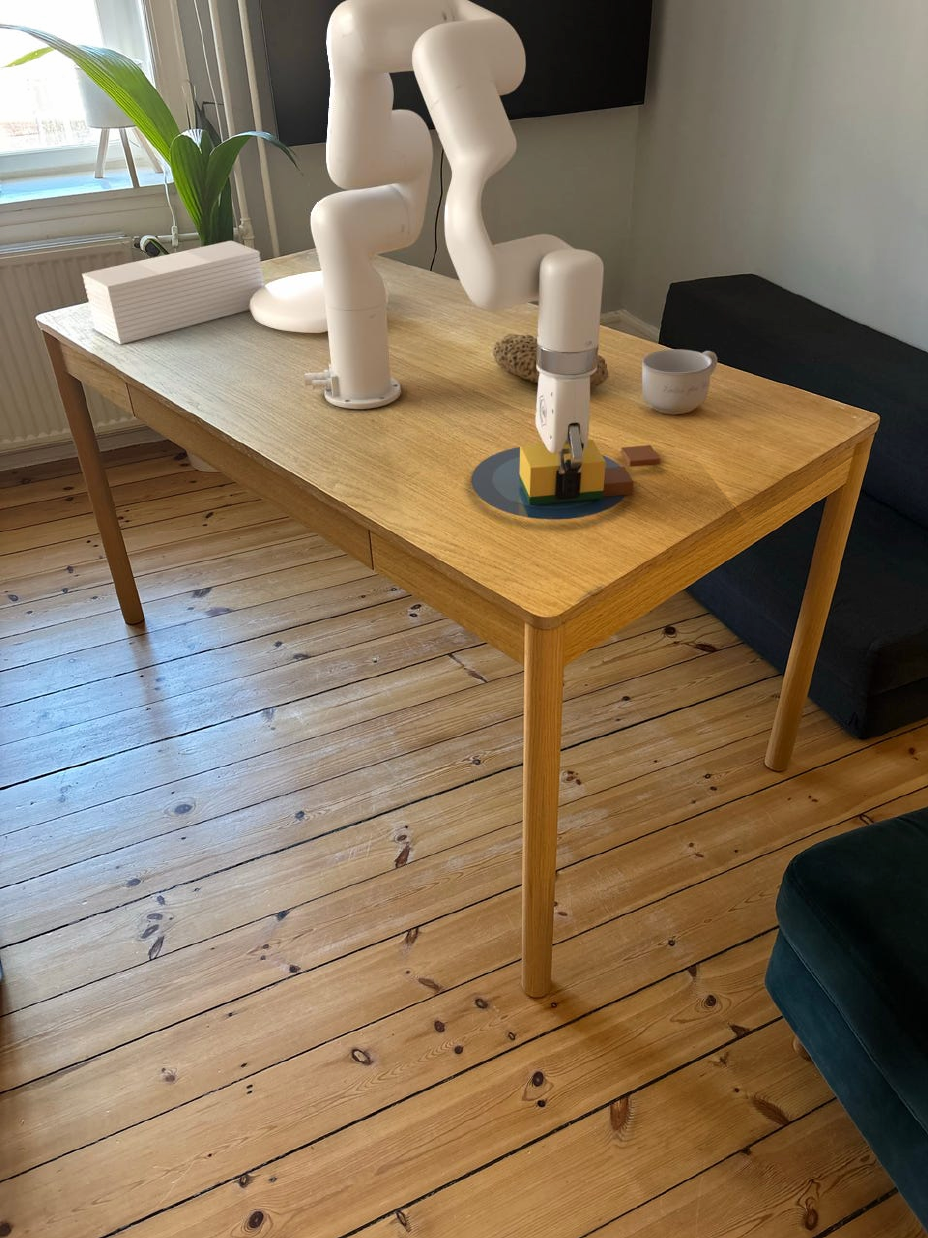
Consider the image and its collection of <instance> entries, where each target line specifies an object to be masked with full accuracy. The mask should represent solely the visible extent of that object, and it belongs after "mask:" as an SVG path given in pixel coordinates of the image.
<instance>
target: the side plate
mask: <svg viewBox="0 0 928 1238" xmlns="http://www.w3.org/2000/svg"><path fill="white" fill-rule="evenodd" d="M601 455H602V456H603V458H604V460H605V461H606V464H605V468H613V467H622V466H621V465H620V464H618V462H616V461H615V460H613V459H612V458H609V457H608V456H605V454H604V455H603V454H601ZM519 477H520V446H517V447H513V448H509V449H505V450H502V451H500V452H496V453H495V454H492V455H490V456H488V457H487V458H485V459H483V460H482V461H481V462H480V463H478V465H477V466H475V468H474V470H473V472H472V475H471V480H470V482H471V487H472V489H473V491H474V493H475V494H476V495H477V496H478V498H480V499H481V500H482V501H483V502H485V503H487V504H488V505H489V506H491V507H493V508H495V509H497V510H499V511H502V512H505V513H508V514H511V515H514V516H518V517H523V518H529V519H536V520H555V521H557V520H559V521H560V520H572V519H578V518H584V517H589V516H593V515H596V514H599V513H602V512H605V511H607V510H609V509H611V508H613V507H615V506H616V505H617V504H619V503H621V502H622V500H623V499H625V497H626V496H627V495H619V496H608V497H603V498H602V499H592V500H581V501H570V502H559V503H548V504H537V505H529V503H528V501H527V498H526V496H525V494H524V492H523V489H522V487H521V485H520V482H519Z"/></svg>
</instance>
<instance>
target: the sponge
mask: <svg viewBox="0 0 928 1238" xmlns="http://www.w3.org/2000/svg"><path fill="white" fill-rule="evenodd" d="M493 346H494V347H493V348H492V355H493V358H494V361H495V362H496V365H497V366H499V367H500V368H501V370H503V371H506V372H508V373H509V374H511V375H512V374H513V375H516V376H518V377H520V378H522V379H524V380H526V381H530V382H532V383H534V384H537V385H538V381H539V373H540V372H539V371H538V370H537V337H534V336H533V335H530V334H526V335H523V334H514V333H511V334H510V333H509V334H507V335H503V336H502V338H499V340H498V341H495V343H494V344H493ZM608 379H609V370H608V364H607V363H606V360H605V358H604V357H602V356H601V355H599V354H598V360H597V370H596V372H595V373H593V374H592V375H590V388H592V387H597V386H601V385H603V384H604V383H605V382H606V381H607V380H608Z"/></svg>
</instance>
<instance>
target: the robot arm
mask: <svg viewBox="0 0 928 1238" xmlns="http://www.w3.org/2000/svg"><path fill="white" fill-rule="evenodd" d="M326 50H327V57H328V64H329V70H330V72H329V73H330V95H329V106H328V107H329V108H328V124H327V136H326V137H327V138H326V168H327V172H328V175H329V177H330V180H331V181H332V182H333V183H334V184H335V185H336V186H337V187H339V188H341V189H344V190H343V191H339V192H335V193H332V194H329V195H326V196H325V197H323V198H321V199H320V200H319V201H318V202H317V203H316V204H315V205H314V207H313V209H312V211H311V214H310V230H311V235H312V238H313V242H314V245H315V250H316V253H317V257H318V261H319V265H320V266H319V267H320V271H321V272H322V278H323V286H324V296H325V305H326V315H327V326H328V331H327V335H328V345H329V347H328V348H329V356H330V357H329V358H330V363H329V364H328V369H324V370H323V372H305V373H303V374H304V384H305V386H312V389H313V390H319V389H323V392H324V398H325V400H326V401H327V402H328V403H330V404H331V405H334V406H335V407H340V408H341V409H342V408H343V409H347V410H348V409H349V410H368V409H375V408H380V407H383V406H386V405H389V404H391V403H393V402H395V401H396V400H397V399H398V398H399V397H400V396H401V393H402V390H401V387H402V386H401V384H400V382H399V381H398V380H396V379H395V378H393V377H391V363H390V348H389V347H390V344H389V330H388V312H387V310H388V309H387V305H386V294H385V286H384V283H383V281H384V280H383V278H382V276H381V274H380V273H379V272H378V271H377V269H376V268H375V267H374V265H373V264H372V262H371V257H373V256H377V255H380V254H384V253H388V252H392V251H397V250H400V249H405V248H407V247H410V246H411V245H413V244H415V242H416V241H417V240H418V239H419V237H420V235H421V233H422V230H423V226H424V221H425V216H426V211H427V210H426V209H427V203H428V196H429V190H430V185H431V178H432V171H433V162H434V147H433V140H432V137H431V133H430V130H429V128H428V125H427V123H426V122H425V121H424V119H423V118H422V117H421V116H420V115H419V114H418V113H416V112H415V111H412V110H410V109H393V104H394V98H395V97H394V96H395V95H394V92H395V91H394V85H393V81H392V78H391V75H390V73H401V72H403V73H404V72H413V73H414V76H415V79H416V81H417V82H416V83H417V84H418V87H419V90H420V92H421V94H422V97H423V99H424V102H425V105H426V107H427V110H428V112H429V115H430V118H431V120H432V122H433V125H434V128H435V130H436V133H437V135H438V138H439V140H440V143H441V146H442V148H443V151H444V154H445V156H446V158H447V161H448V163H449V166H450V169H451V180H450V184H449V187H448V190H447V193H446V197H445V204H444V218H443V219H444V221H443V223H444V237H445V244H446V248H447V251H448V254H449V257H450V259H451V262H452V264H453V266H454V267H453V268H454V269H455V272H456V274H457V276H458V280H459V282H460V283H461V286H462V288H463V290H464V291H465V293H466V295H467V297H468V298H469V300H470V301H471V302H472V303H473V304H474V305H475V306H476V307H477V308H479V309H480V310H482V311H485V312H491V313H492V312H495V313H496V312H500V311H505V310H508V309H512V308H515V307H518V306H522V305H525V304H528V303H534V302H538V306H537V307H538V309H537V310H538V311H537V335H536V336H537V337H536V338H537V370H538V371H539V372H540V373H539V381H538V384H537V391H536V392H537V393H536V406H535V419H534V420H535V428H536V429H537V433H538V434H539V436H540V438H541V440H542V442H543V444H545V446H546V447H547V449H548V450H549V451H550V452H551V453H552V454H555V453H556V452H558V465H559V471H556V484H555V497H556V499H557V500H563V499H574V498H578V497H579V496H580V482H581V471H582V467H581V465H582V462H583V453H582V451H584V450H585V449H586V447H587V443H588V440H589V435H590V419H591V418H590V417H591V415H590V412H591V387H590V375H592V374H593V373H595V372H596V370H597V360H598V355H599V345H600V343H599V342H600V341H599V340H600V329H601V328H600V327H601V313H602V300H603V286H604V270H605V269H604V268H605V267H604V263H603V260H602V258H601V257H600V256H599V255H598V254H596V253H595V252H592V251H589V250H586V249H580V248H575V247H573V246H571V245H569V244H568V243H567V242H566V241H564V240H562V239H561V238H559V237H558V236H555V235H552V234H549V233H540V234H534V235H530V236H526V237H522V238H516V239H513V240H512V239H511V240H508V241H503V242H499V243H497V244H493V243H492V241H491V238H490V236H489V234H488V231H487V228H486V225H485V222H484V219H483V213H482V195H483V191H484V187H485V185H486V183H487V181H488V179H490V178H491V177H492V176H494V175H495V174H496V173H497V172H499V171H500V170H502V169H503V168H504V167H505V166H506V165H507V164H508V163H509V162H510V161H511V160H512V158H513V157H514V155H515V154H516V151H517V144H518V143H517V139H516V138H517V137H516V135H515V133H514V131H513V128H512V126H511V124H510V123H511V122H510V120H509V118H508V116H507V113H506V110H505V108H504V104H503V102H502V100H501V96H504V95H508V94H511V93H512V92H514V91H516V90H517V88H518V87H519V86H520V85H521V83H522V82H523V80H524V76H525V73H526V65H527V63H526V51H525V48H524V44H523V42H522V39H521V38H520V35H519V34H518V32H517V31H516V29H515V28H514V27H513V26H512V25H511V24H510V22H508V21H507V20H506V19H505V18H503V17H502V16H500V15H498V14H497V13H495V12H492V11H490V10H488V9H486V8H485V7H482V6H481V5H478V4H476V3H474V2H472V1H470V0H345V1H343V2H341V3H340V4H338V5H337V6H336V8H335V9H334V10H333V11H332V14H331V15H330V17H329V21H328V25H327V30H326ZM565 444H569V446H570V448H567V449H563V447H564V445H565ZM568 453H570V459H567V460H566V462H565V463H564V454H568Z"/></svg>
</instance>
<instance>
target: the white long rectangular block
mask: <svg viewBox="0 0 928 1238" xmlns="http://www.w3.org/2000/svg"><path fill="white" fill-rule="evenodd" d="M260 253H261V252H260V251H259V250H257V249H254V248H252V247H249V246H246V245H244V244H241V243H240V242H239V243H238V242H236V241H233V240H227V241H223V242H218V243H214V244H209V245H205V246H199V247H196V248H191V249H187V250H183V251H179V252H173V253H169V254H165V255H160V256H155V257H151V258H146V259H141V260H137V261H133V262H128V263H124V264H119V265H115V266H110V267H106V268H101V269H97V270H92V271H89V272H88V271H87V272H85V273H81V275H82V279H83V284H84V288H85V294H86V296H87V299H88V300H87V302H88V304H89V309H90V314H91V318H92V323H93V326H94V330H95V331H96V332H98V333H100V334H102V335H104V336H105V337H107V338H108V339H110V340H112V341H114V342H116V343H117V344H119V345H123V344H126V343H131V342H134V341H138V340H141V339H142V340H143V339H145V338H149V337H152V336H153V337H154V336H156V335H160V334H165V333H167V332H171V331H176V330H179V329H183V328H186V327H190V326H194V325H197V324H202V323H205V322H209V321H212V320H218V319H220V318H223V317H227V316H231V315H235V314H238V313H242V312H246V311H251V310H250V300H251V298H252V297H253V295H254V293H256V292H257V291H258V290H259V289H260V288H262V287H264V286H265V284H264V277H263V269H262V262H261V254H260Z"/></svg>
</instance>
